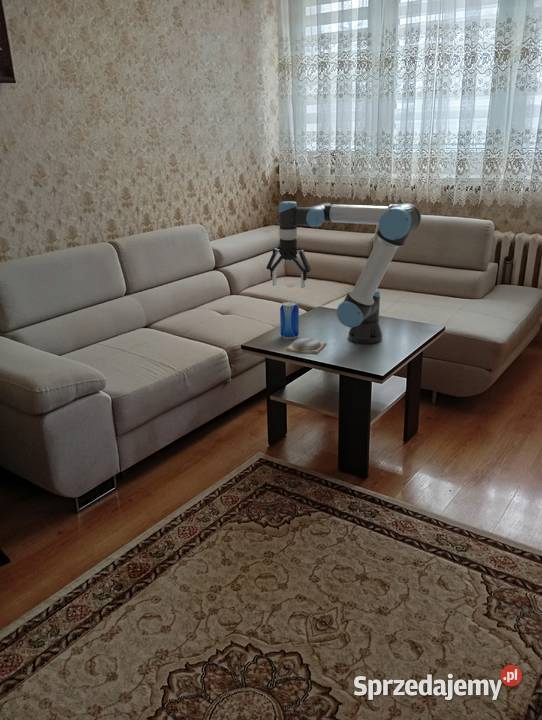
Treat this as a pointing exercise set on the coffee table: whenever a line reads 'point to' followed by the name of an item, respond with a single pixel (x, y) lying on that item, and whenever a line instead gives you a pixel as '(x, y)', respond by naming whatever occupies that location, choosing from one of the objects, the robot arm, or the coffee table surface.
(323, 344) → the hub board
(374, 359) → the coffee table surface
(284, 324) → the beer can
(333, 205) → the robot arm
